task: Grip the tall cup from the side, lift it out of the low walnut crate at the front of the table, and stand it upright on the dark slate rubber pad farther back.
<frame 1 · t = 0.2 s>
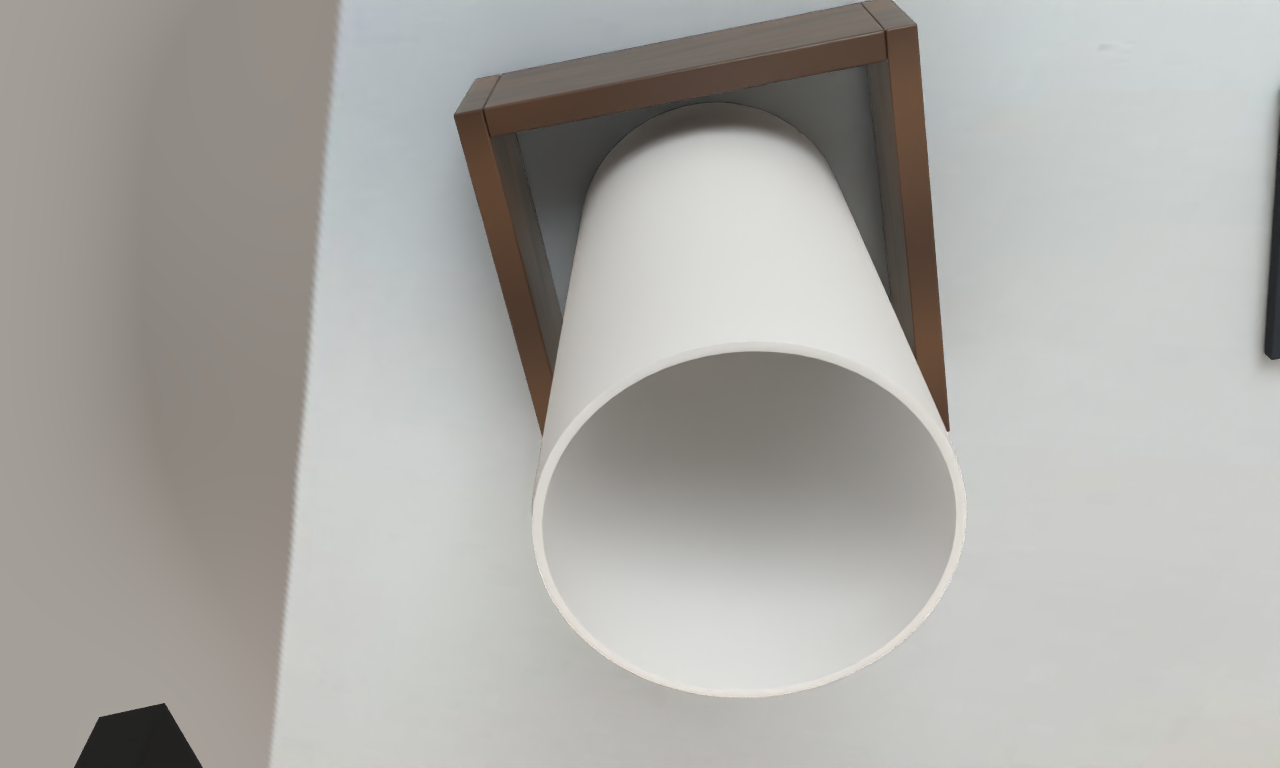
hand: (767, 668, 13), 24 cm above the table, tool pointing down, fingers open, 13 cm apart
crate: (712, 233, 35), on the table
cup: (712, 231, 36), resting in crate
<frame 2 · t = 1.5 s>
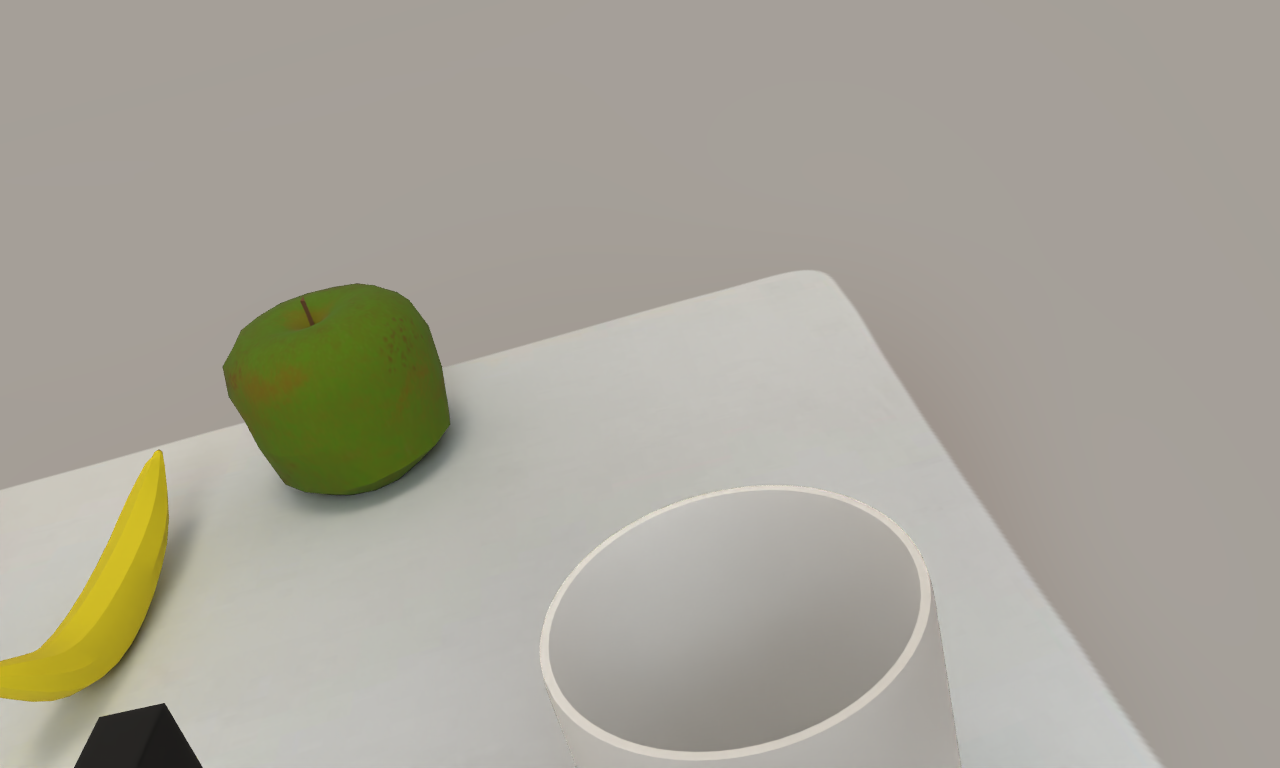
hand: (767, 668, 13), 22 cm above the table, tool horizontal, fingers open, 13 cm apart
apple: (374, 463, 66), on the table
banana: (129, 636, 57), on the table
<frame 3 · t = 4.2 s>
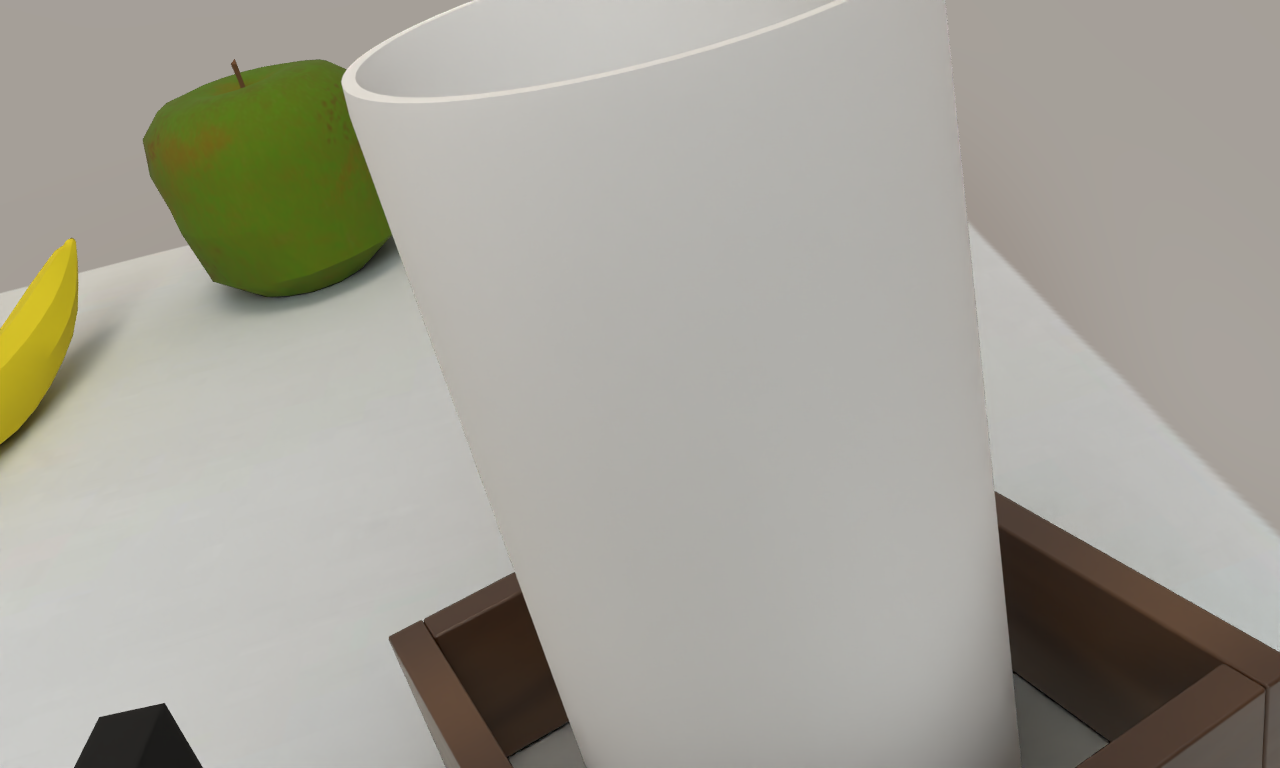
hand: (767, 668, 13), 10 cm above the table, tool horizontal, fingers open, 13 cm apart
apple: (318, 271, 58), on the table
banana: (19, 429, 49), on the table
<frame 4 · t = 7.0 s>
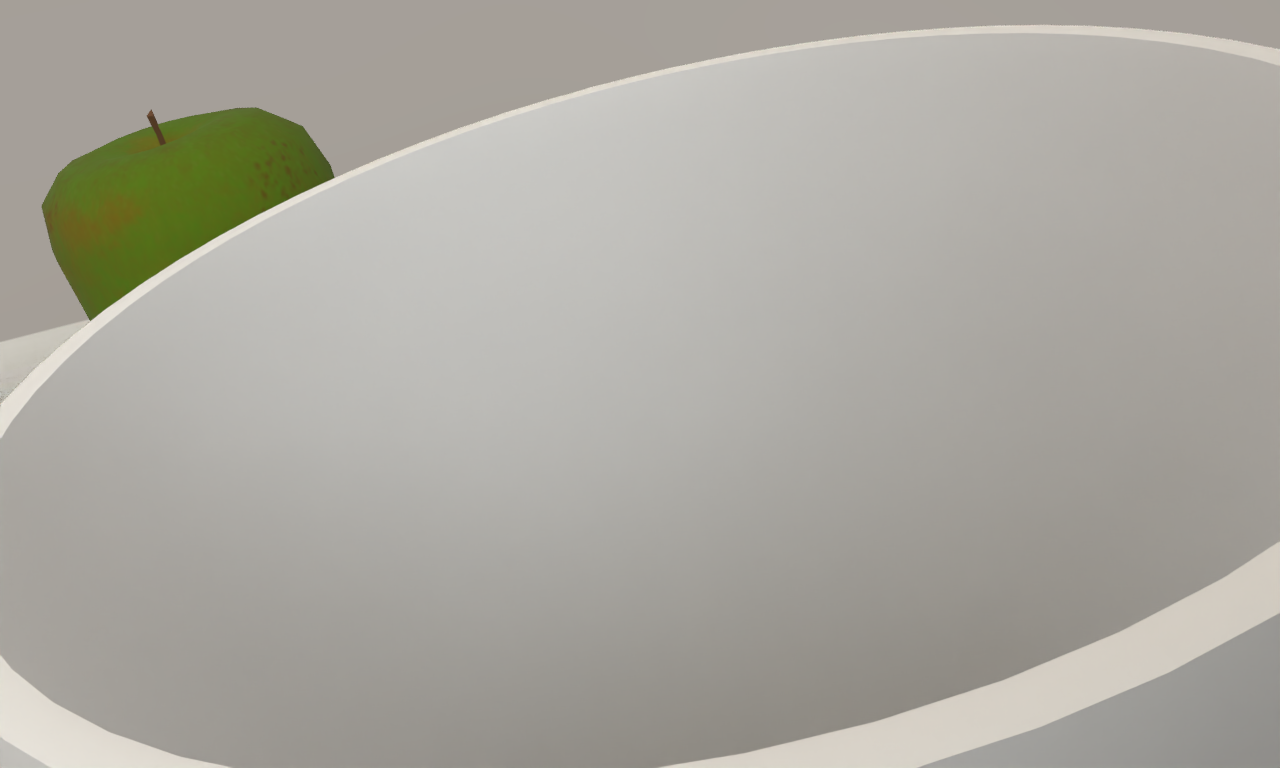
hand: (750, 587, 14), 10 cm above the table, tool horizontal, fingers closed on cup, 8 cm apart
apple: (258, 355, 49), on the table
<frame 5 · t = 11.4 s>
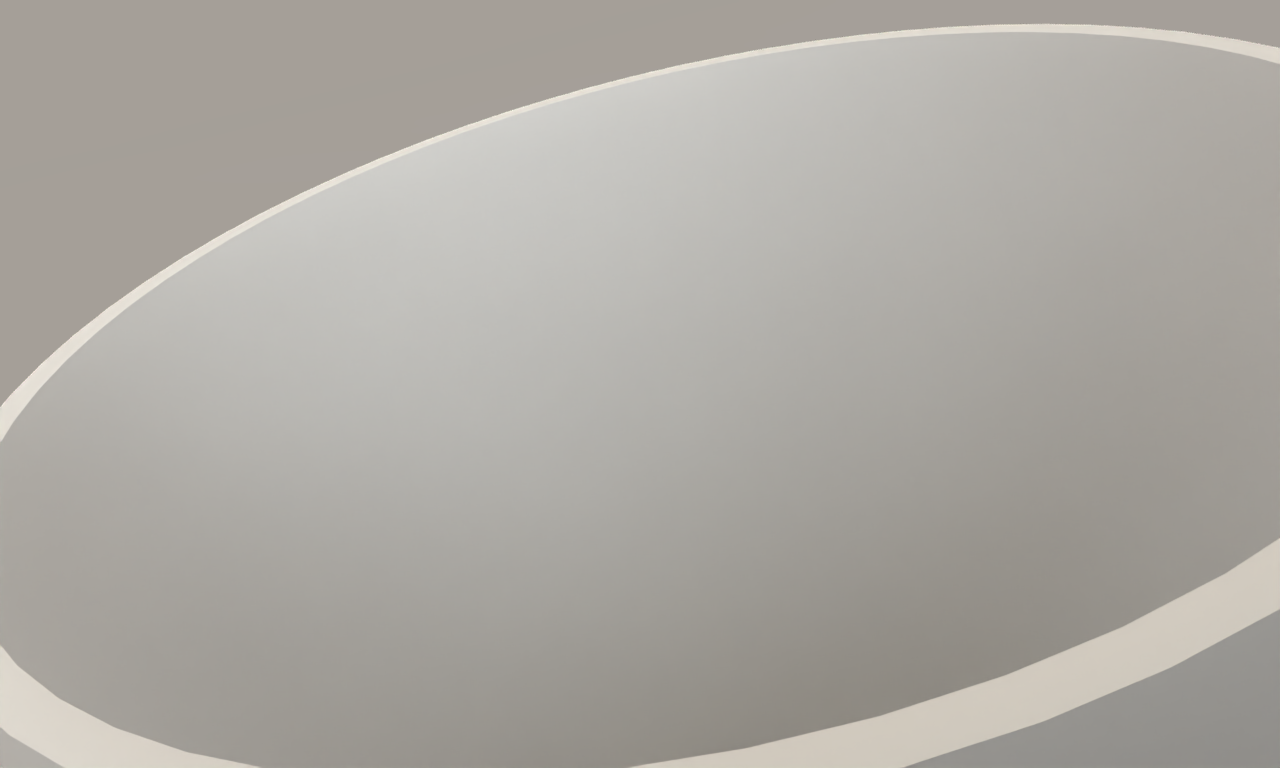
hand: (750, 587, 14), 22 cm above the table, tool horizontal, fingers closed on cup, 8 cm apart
when the fingers open (10 cm above the table, at t = 16.0 s): cup stays where it is, resting on pad.
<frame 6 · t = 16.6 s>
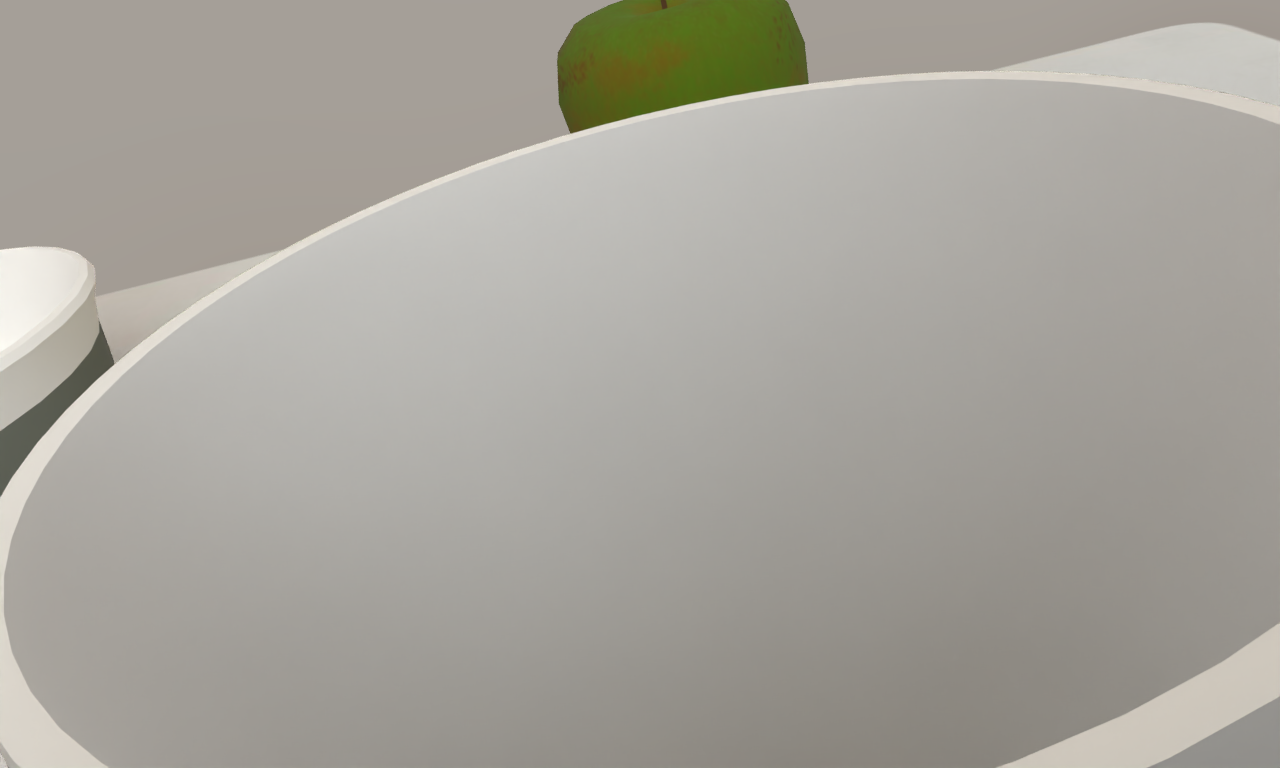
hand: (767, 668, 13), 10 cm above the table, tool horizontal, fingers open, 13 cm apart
apple: (708, 210, 54), on the table
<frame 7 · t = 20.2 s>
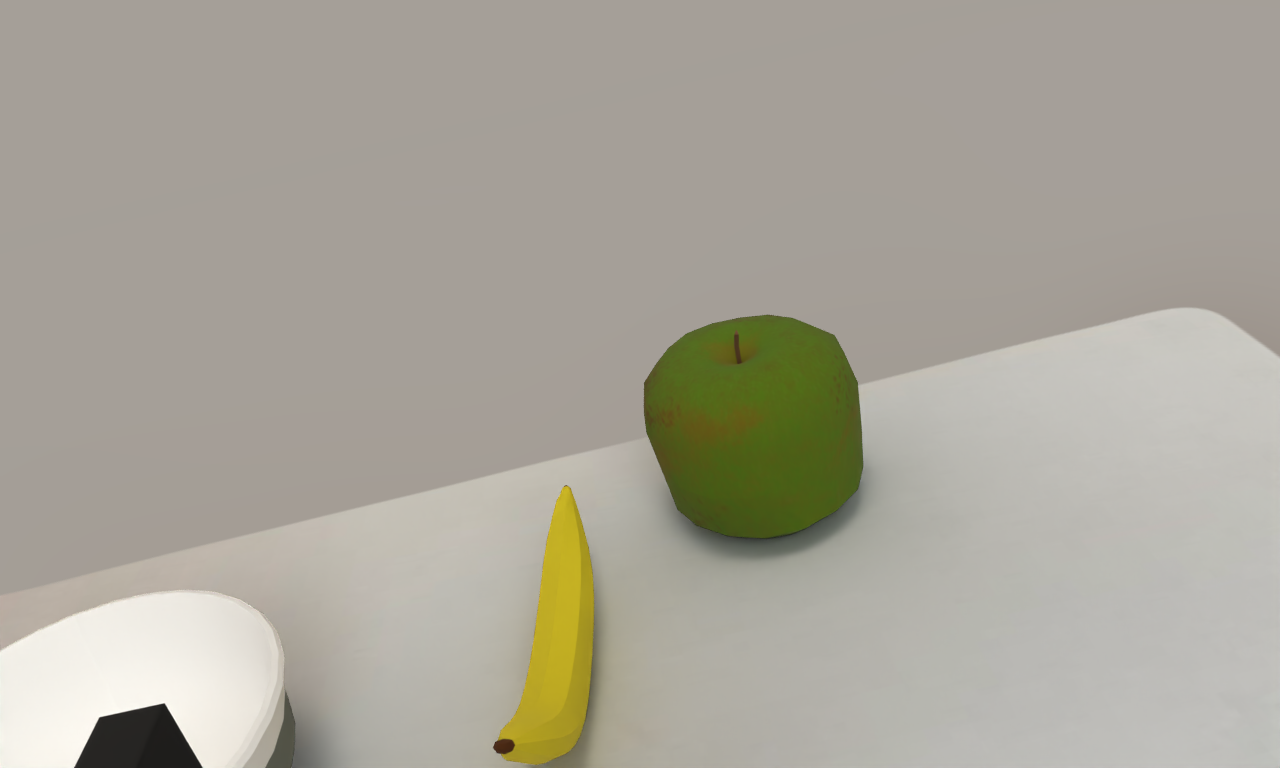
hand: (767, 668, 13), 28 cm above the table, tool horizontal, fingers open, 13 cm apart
apple: (770, 503, 63), on the table
banana: (572, 688, 54), on the table
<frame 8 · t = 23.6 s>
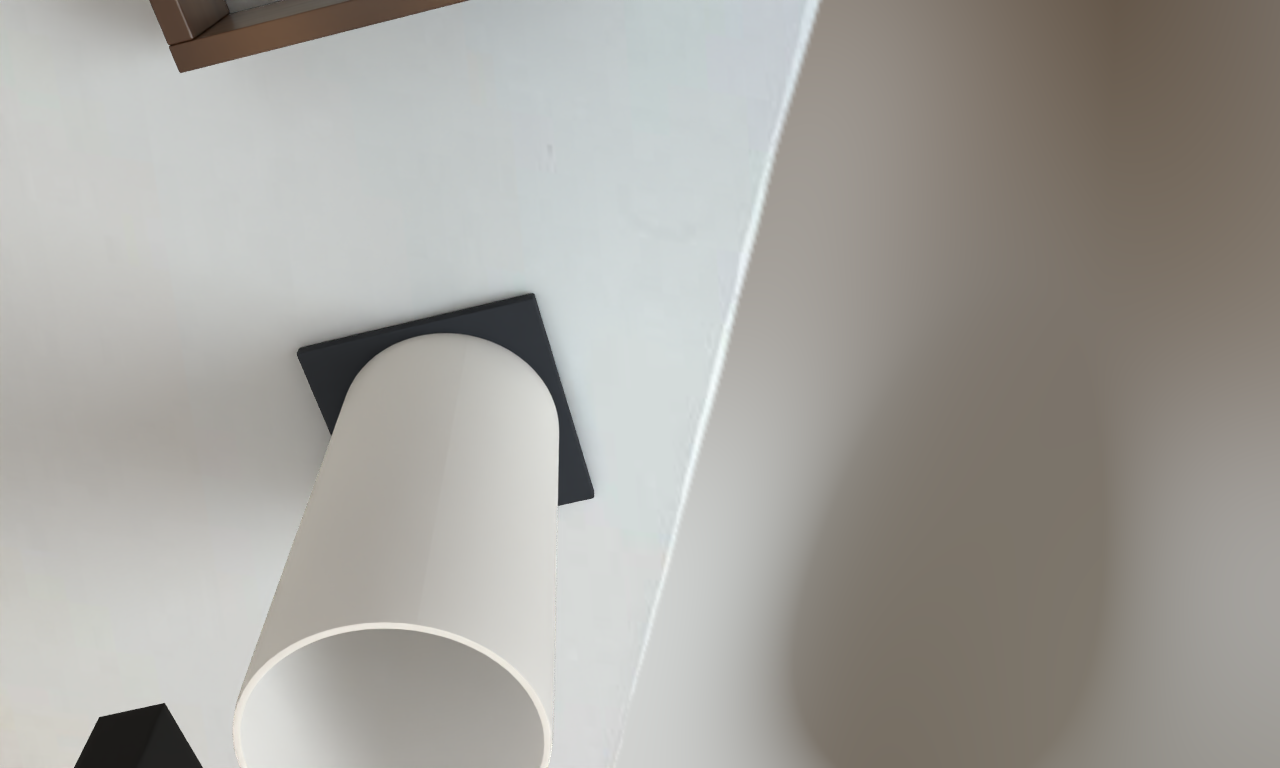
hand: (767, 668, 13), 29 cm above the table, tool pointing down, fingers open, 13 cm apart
cup: (451, 426, 44), resting on pad
pad: (452, 422, 44), on the table
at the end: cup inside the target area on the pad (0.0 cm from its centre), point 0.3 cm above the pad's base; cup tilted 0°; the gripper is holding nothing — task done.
